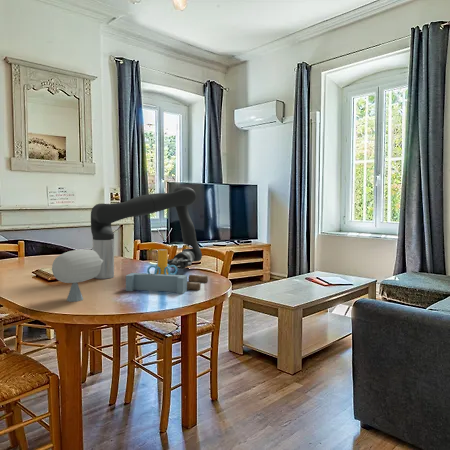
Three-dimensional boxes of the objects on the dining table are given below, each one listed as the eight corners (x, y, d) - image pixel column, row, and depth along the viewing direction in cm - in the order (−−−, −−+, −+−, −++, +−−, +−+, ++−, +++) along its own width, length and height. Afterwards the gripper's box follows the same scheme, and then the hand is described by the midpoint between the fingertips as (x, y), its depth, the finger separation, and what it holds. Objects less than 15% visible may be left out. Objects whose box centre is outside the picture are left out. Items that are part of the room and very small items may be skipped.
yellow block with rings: (166, 290, 159) (166, 252, 158) (143, 287, 162) (143, 250, 162) (180, 284, 170) (180, 249, 169) (158, 282, 174) (158, 247, 173)
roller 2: (179, 289, 160) (179, 282, 160) (181, 288, 163) (181, 281, 163) (198, 291, 159) (199, 283, 159) (200, 289, 162) (200, 282, 162)
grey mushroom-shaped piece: (115, 299, 143) (115, 250, 142) (55, 306, 132) (55, 253, 131) (103, 291, 156) (102, 246, 155) (47, 297, 145) (46, 248, 144)
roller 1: (188, 281, 175) (188, 274, 176) (190, 281, 178) (190, 275, 178) (206, 282, 174) (206, 275, 174) (207, 282, 177) (208, 275, 177)
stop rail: (125, 290, 157) (125, 275, 156) (131, 287, 163) (131, 272, 162) (182, 294, 153) (183, 278, 153) (186, 290, 159) (187, 275, 159)
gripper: (170, 251, 196) (158, 256, 179) (196, 252, 194) (187, 257, 177) (170, 266, 197) (158, 273, 180) (196, 267, 195) (187, 274, 178)
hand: (172, 265), depth 178 cm, fingers closed
